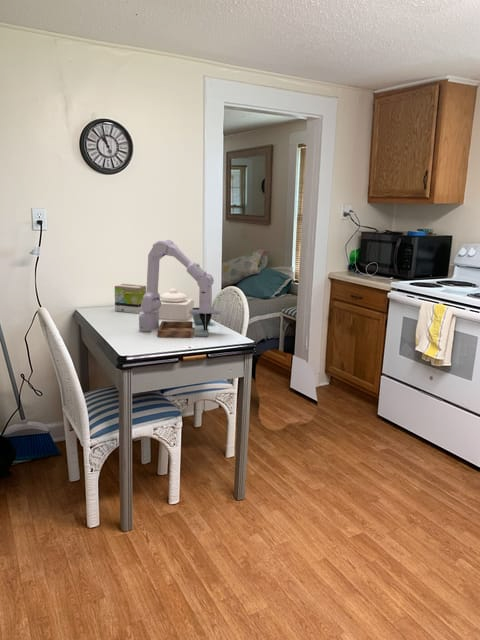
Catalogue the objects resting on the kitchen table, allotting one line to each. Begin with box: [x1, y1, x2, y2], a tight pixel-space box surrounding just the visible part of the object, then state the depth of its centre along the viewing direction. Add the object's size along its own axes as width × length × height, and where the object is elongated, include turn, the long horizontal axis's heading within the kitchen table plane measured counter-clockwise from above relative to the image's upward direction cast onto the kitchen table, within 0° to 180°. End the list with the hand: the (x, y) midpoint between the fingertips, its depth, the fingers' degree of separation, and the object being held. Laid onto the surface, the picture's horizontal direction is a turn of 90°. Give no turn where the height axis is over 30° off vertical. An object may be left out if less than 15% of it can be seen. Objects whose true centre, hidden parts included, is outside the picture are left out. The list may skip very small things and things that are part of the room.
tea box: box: [114, 283, 147, 314], centre depth 286 cm, size 15×10×15 cm, turn 73°
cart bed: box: [156, 320, 195, 339], centre depth 235 cm, size 16×20×4 cm
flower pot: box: [192, 307, 213, 326], centre depth 254 cm, size 9×9×9 cm
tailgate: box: [193, 325, 209, 338], centre depth 236 cm, size 2×17×6 cm
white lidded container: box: [159, 287, 195, 321], centre depth 274 cm, size 18×18×16 cm
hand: (205, 329), depth 236 cm, fingers closed, pressing on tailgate
